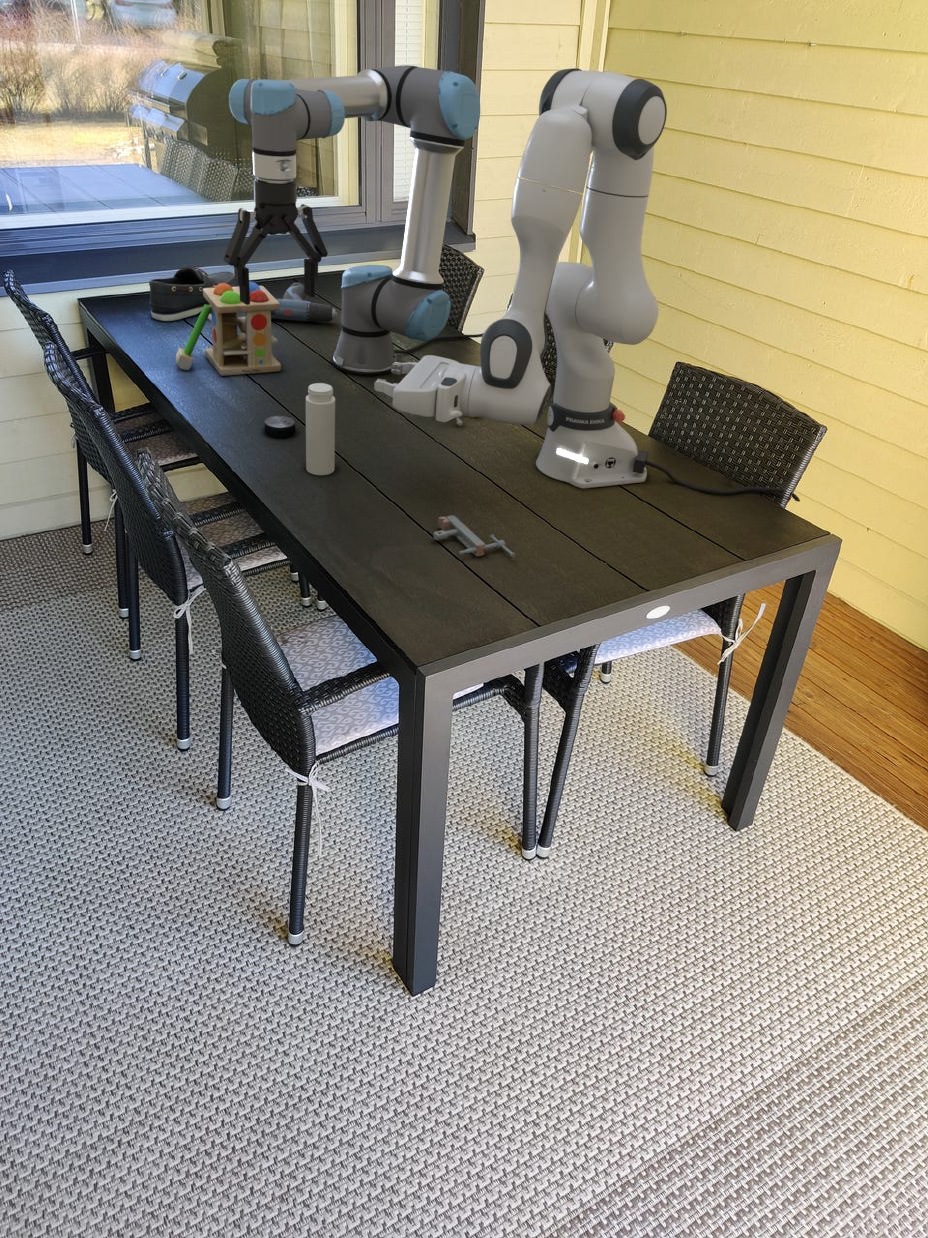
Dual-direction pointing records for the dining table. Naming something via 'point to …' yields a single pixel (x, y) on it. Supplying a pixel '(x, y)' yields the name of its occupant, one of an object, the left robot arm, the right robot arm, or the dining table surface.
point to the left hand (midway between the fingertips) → (277, 298)
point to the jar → (320, 429)
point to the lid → (279, 427)
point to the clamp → (466, 537)
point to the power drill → (301, 307)
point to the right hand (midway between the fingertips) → (384, 375)
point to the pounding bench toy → (229, 347)
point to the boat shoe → (184, 292)
